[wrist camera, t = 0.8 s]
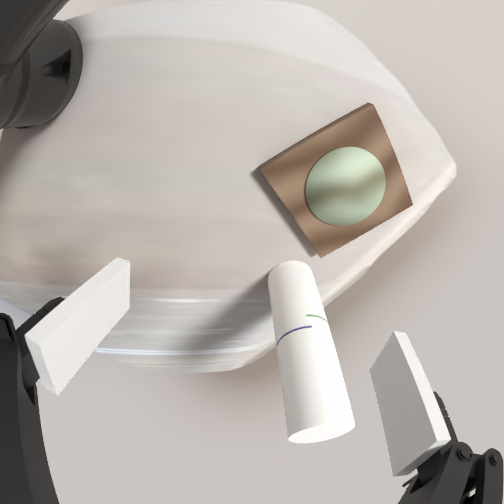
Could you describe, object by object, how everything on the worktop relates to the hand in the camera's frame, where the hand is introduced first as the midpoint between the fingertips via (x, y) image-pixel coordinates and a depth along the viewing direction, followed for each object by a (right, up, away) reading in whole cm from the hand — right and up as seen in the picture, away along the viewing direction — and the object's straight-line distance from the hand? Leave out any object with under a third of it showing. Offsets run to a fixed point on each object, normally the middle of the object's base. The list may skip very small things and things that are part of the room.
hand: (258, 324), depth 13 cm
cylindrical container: (+6, -1, +32) cm, 33 cm away
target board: (+12, +12, +23) cm, 28 cm away
